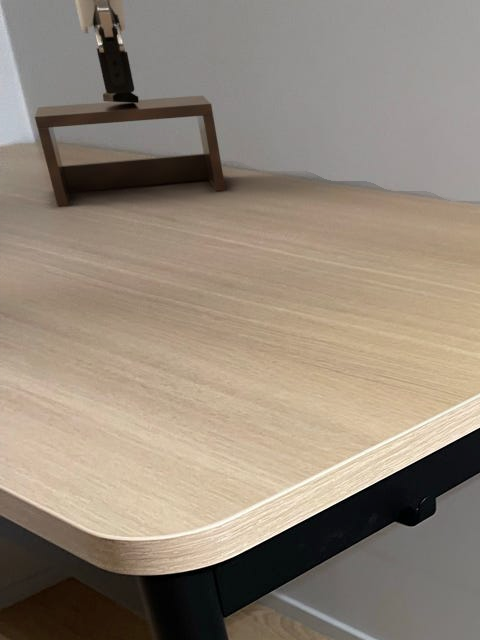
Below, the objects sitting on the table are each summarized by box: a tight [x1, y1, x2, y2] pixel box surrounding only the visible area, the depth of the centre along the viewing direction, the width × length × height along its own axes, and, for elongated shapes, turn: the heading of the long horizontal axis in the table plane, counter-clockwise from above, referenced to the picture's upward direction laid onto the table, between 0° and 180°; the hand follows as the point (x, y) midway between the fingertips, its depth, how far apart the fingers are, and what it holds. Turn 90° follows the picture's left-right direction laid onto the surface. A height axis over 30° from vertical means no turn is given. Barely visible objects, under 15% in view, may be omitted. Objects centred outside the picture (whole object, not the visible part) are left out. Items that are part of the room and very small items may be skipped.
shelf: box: [34, 95, 227, 207], centre depth 123 cm, size 20×10×10 cm, turn 109°
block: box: [102, 91, 140, 103], centre depth 119 cm, size 4×6×2 cm, turn 30°
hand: (119, 88), depth 119 cm, fingers open, 9 cm apart
